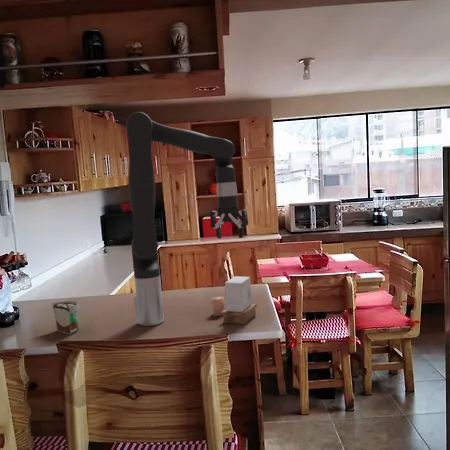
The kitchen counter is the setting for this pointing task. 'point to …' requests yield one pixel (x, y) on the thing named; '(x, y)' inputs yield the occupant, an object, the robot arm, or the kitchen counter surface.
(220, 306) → the peach rounded knob
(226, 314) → the stand
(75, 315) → the food container
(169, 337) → the kitchen counter surface
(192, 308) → the kitchen counter surface
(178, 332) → the kitchen counter surface
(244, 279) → the skincare box
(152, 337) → the kitchen counter surface
